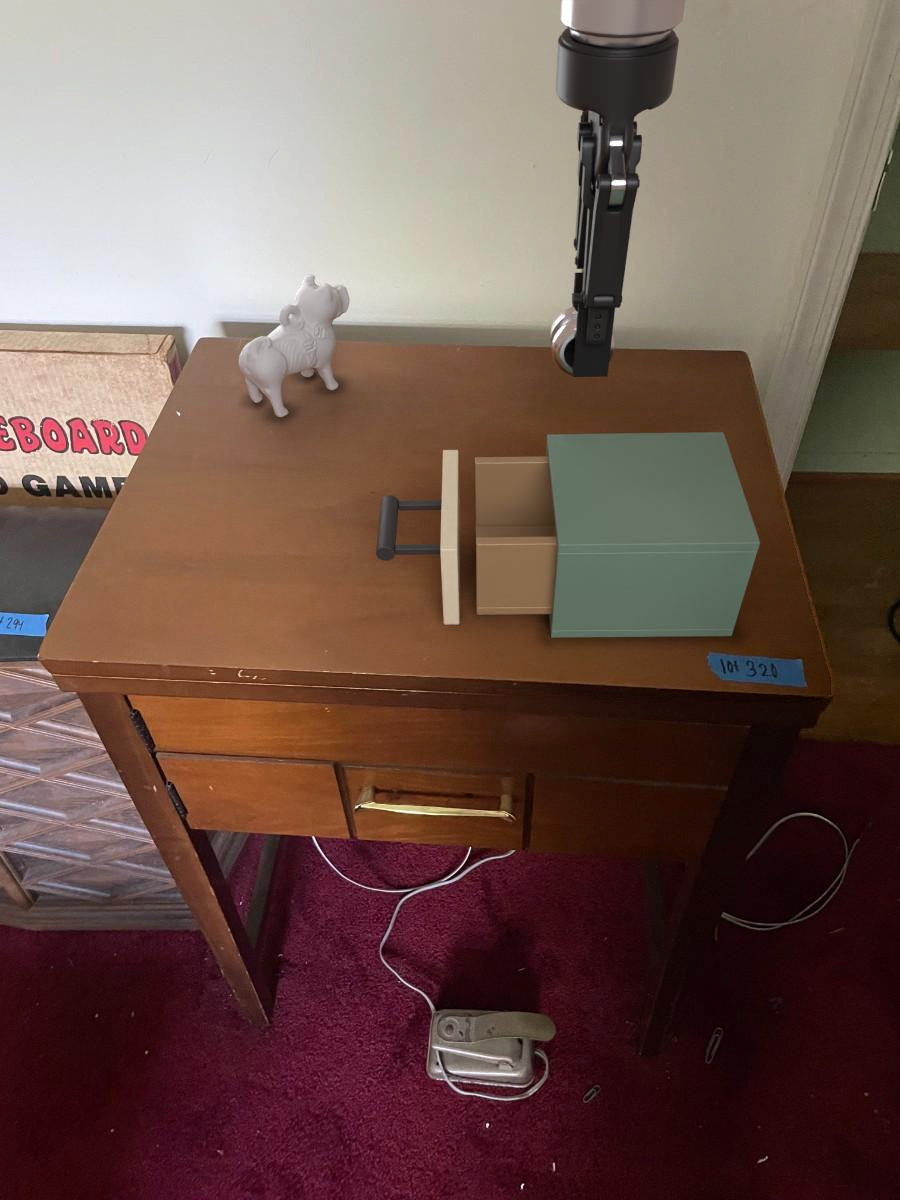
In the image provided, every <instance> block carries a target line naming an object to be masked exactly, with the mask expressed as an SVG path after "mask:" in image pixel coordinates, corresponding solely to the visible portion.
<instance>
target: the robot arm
mask: <svg viewBox="0 0 900 1200" xmlns="http://www.w3.org/2000/svg"><path fill="white" fill-rule="evenodd" d="M685 4H686V0H560V21H561V22H562V24H563V25H564V26H565V27H566V28H565V29H563V31H562V32H561V34H560V35H559V36H558V38H557V57H556V75H555V77H556V78H555V92H556V95H557V97H558V99H559V100H560V101H561V102H562V103H564V104H565V105H566V106H568V107H570V108H572V109H575V110H578V111H580V112H581V115H580V120H579V122H578V124H577V133H576V142H577V150H578V163H577V173H576V174H577V181H578V186H577V187H578V189H577V203H576V221H575V236H574V239H573V248H574V250H575V251H576V255H575V257H574V265H575V266H576V270H581V271H580V272H574V281H573V292H572V293H571V305H572V306H571V307H574V306H578V312H577V324H576V337H575V339H574V341H575V349H574V362H573V376H572V377H573V378H597V377H598V378H599V377H600V378H603V377H604V378H605V377H606V378H607V377H608V376H609V375H608V374H609V366H610V362H609V359H610V350H611V341H612V332H613V333H614V331H613V330H614V323H615V322H614V321H615V312H616V309H620V308H621V305H622V303H623V289H624V282H625V275H626V274H625V273H626V268H627V267H626V265H627V258H628V251H629V243H630V237H631V229H632V228H631V227H632V221H633V213H634V208H635V202H636V199H637V193H638V189H639V188H640V186H641V185H640V183H641V181H640V175H639V173H638V172H636V170H637V167H638V165H639V163H640V162H641V156H642V147H643V136H642V134H638V122H637V120H635V117H636V116H637V115H639V114H641V113H642V112H644V111H646V110H647V111H648V110H649V111H650V110H651V111H652V110H654V109H657V108H658V107H660V106H661V105H664V104H665V103H666V102H667V101H668V100H669V99H670V97H671V95H672V94H673V93H672V92H673V88H674V80H675V73H676V72H675V71H676V66H677V58H678V51H679V43H680V39H679V36H677V33H676V31H674V29H675V28H676V27H678V26H679V25H680V24H681V23H682V22H683V20H684V19H683V18H684V12H685Z"/></svg>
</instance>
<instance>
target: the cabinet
mask: <svg viewBox="0 0 900 1200" xmlns="http://www.w3.org/2000/svg"><path fill="white" fill-rule="evenodd" d="M545 446H546V448H545V456H548V460H549V470H550V479H551V489H552V499H553V508H554V518H555V528H556V537H557V556H556V568H555V580H554V592H553V604H552V614H548V620H549V632H550V637H551V638H553V639H554V638H555V639H556V638H667V637H668V638H669V637H671V638H673V637H676V638H678V637H680V638H681V637H732V636H733V632H734V629H735V626H736V624H737V623H736V622H737V620H738V616H739V613H740V610H741V606H742V604H743V601H744V597H745V594H746V591H747V587H748V585H749V581H750V578H751V574H752V571H753V568H754V564H755V561H756V557H757V555H758V551H759V548H760V546H761V540H760V538H759V534H758V532H757V528H756V526H755V523H754V518H753V517H752V513H751V510H750V507H749V504H748V501H747V498H746V496H745V493H744V490H743V487H742V484H741V481H740V478H739V474H738V471H737V469H736V466H735V462H734V459H733V457H732V453H731V450H730V448H729V444H728V441H727V439H726V436H725V433H724V431H708V432H707V431H703V432H702V431H701V432H699V431H698V432H695V431H693V432H689V431H688V432H629V433H627V432H625V433H621V432H620V433H619V432H618V433H617V432H616V433H558V434H557V433H556V434H555V433H553V434H551V433H550V434H547V435H546V445H545Z"/></svg>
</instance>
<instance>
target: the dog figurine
mask: <svg viewBox="0 0 900 1200" xmlns="http://www.w3.org/2000/svg"><path fill="white" fill-rule="evenodd" d="M315 279H316V275H314V274H305V276H304V278H303V280H302V283H301V286H300V287H299V289H298V290H297V292H296V294H295V297H294V304H285V305H284V306H282V307H281V308H280V310H279V314H278V319H279V325H278V326H277V327H276V328H275V329H274V330H273V331H271V332H270V333H268V334H267V336H266V335H265V336H263V335H262V336H261V335H260V336H257V337H256V338H254V339H252V340H251V341H249V342H248V343H246V344H245V345H244V347H243V348H242V350H241V352H240V354H239V356H238V367H239V369H240V371H241V373H242V374H243V377H244V380H245V383H246V386H247V387H246V388H247V391H248V394H249V397H250V399H251V401H252V402H254V403H256V404H258V403H260V402H261V401H262V400H263V395H264V396H265V397H266V398H267V399H268V400H269V402H270V404H271V407H272V409H273V412H274V415H275V416H276V417H278V418H283V417H285V416H287V415H288V414H289V411H288V409H287V408H286V407H285V406H284V403H283V398H282V397H283V396H282V384H283V382H284V380H285V378H286V377H287V376H288V375H294V374H297V373H301V375H302V376H303V377H305V378H310V377H312V376H313V375H314V373H315V370H314V369H316V371H317V373H318V374H319V376H320V378H321V379H322V380H323V381H324V384H325V387H326V389H327V390H329V391H334V390H336V389H338V388H339V383H338V382H337V380H336V379H335V378H334V373H333V368H332V359H333V356H334V354H335V351H336V347H337V334H336V331H335V329H334V326H333V321H334V320H336V319H337V318H339V317H341V316H342V315H343V314H345V313H346V312H348V309H349V306H350V295H349V292H348V288H347V287H346V286H345V285H343V284H341V283H338V284H336V285H334V286H332V285H331V284H329V283H327V282H323V283H322V284H321V283H320V284H316V281H315ZM260 391H261V392H262V393H261V392H260ZM262 394H263V395H262Z"/></svg>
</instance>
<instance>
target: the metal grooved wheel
mask: <svg viewBox="0 0 900 1200" xmlns="http://www.w3.org/2000/svg"><path fill="white" fill-rule="evenodd" d="M577 312H578V306H574V307H572V306H571V307H569V308H566V309H565V310H563V311H562V312H561V313H560V314H559V315H558V316H556V318H555V319H554V320H553V323H552V325H551V328H550V331H549V341H550V347H551V348H550V349H551V357H552V360H553V362H554V364H555V366H556V367H557V368H558V369H559V370H560V372H563V373H564V374H566V375H568V376H570V377H573V362H574V349H575V341H574V339H575V337H576V324H577ZM615 350H616V340H615V336H614V331H613V332H612V341H611V350H610V359H609V363H611V361H612V359H613V357H614V354H615Z"/></svg>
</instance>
